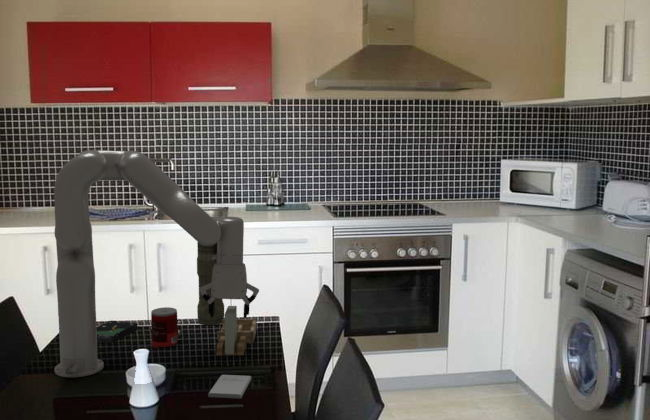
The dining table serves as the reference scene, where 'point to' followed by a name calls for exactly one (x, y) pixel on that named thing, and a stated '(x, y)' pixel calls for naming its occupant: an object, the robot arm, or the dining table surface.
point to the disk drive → (114, 331)
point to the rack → (242, 330)
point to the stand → (238, 351)
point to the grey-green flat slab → (230, 329)
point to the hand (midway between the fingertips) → (228, 316)
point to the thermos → (205, 277)
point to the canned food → (164, 327)
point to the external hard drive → (230, 386)
